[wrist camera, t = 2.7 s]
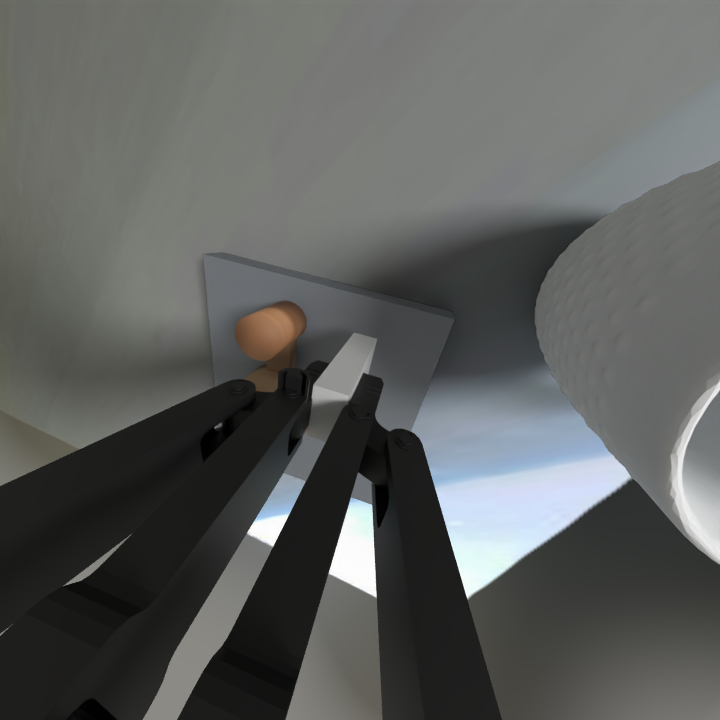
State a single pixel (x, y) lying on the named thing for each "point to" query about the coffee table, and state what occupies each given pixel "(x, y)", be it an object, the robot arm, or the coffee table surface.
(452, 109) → the coffee table surface
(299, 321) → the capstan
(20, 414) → the coffee table surface
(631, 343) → the mug
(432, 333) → the board
